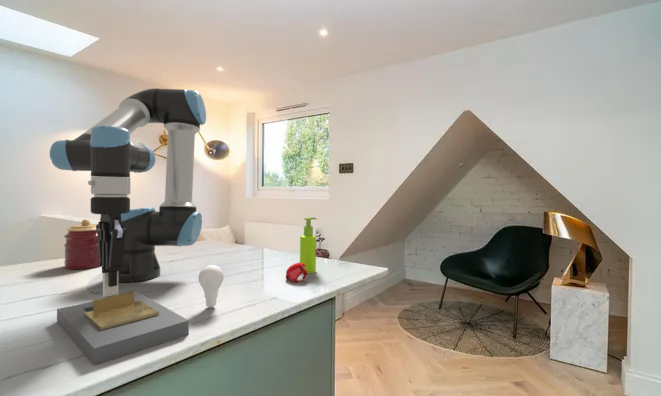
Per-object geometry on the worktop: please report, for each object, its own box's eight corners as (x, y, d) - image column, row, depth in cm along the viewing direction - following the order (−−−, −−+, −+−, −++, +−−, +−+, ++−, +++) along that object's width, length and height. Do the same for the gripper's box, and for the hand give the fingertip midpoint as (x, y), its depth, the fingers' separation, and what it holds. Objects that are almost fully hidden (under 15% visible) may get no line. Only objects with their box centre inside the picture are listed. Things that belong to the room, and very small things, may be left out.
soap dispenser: (320, 270, 130) (321, 217, 129) (309, 273, 124) (310, 218, 123) (307, 267, 133) (308, 216, 132) (296, 271, 127) (297, 217, 126)
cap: (313, 270, 116) (302, 259, 119) (305, 268, 111) (293, 256, 114) (298, 288, 116) (287, 276, 119) (290, 287, 111) (278, 274, 114)
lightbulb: (202, 303, 91) (202, 262, 91) (225, 303, 92) (226, 262, 91) (195, 312, 85) (195, 268, 85) (220, 311, 86) (220, 268, 85)
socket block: (57, 322, 77) (56, 308, 77) (138, 303, 90) (138, 292, 90) (94, 365, 60) (94, 348, 59) (188, 334, 72) (188, 320, 72)
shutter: (84, 315, 74) (84, 301, 74) (139, 302, 82) (139, 290, 82) (100, 330, 67) (100, 314, 66) (159, 314, 75) (159, 300, 75)
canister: (78, 262, 135) (77, 217, 135) (113, 261, 137) (112, 217, 136) (55, 270, 123) (55, 221, 122) (94, 269, 124) (94, 221, 123)
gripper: (82, 195, 79) (83, 296, 80) (100, 197, 70) (100, 310, 71) (119, 195, 84) (119, 289, 85) (139, 196, 76) (139, 302, 77)
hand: (110, 299), depth 78 cm, fingers closed
